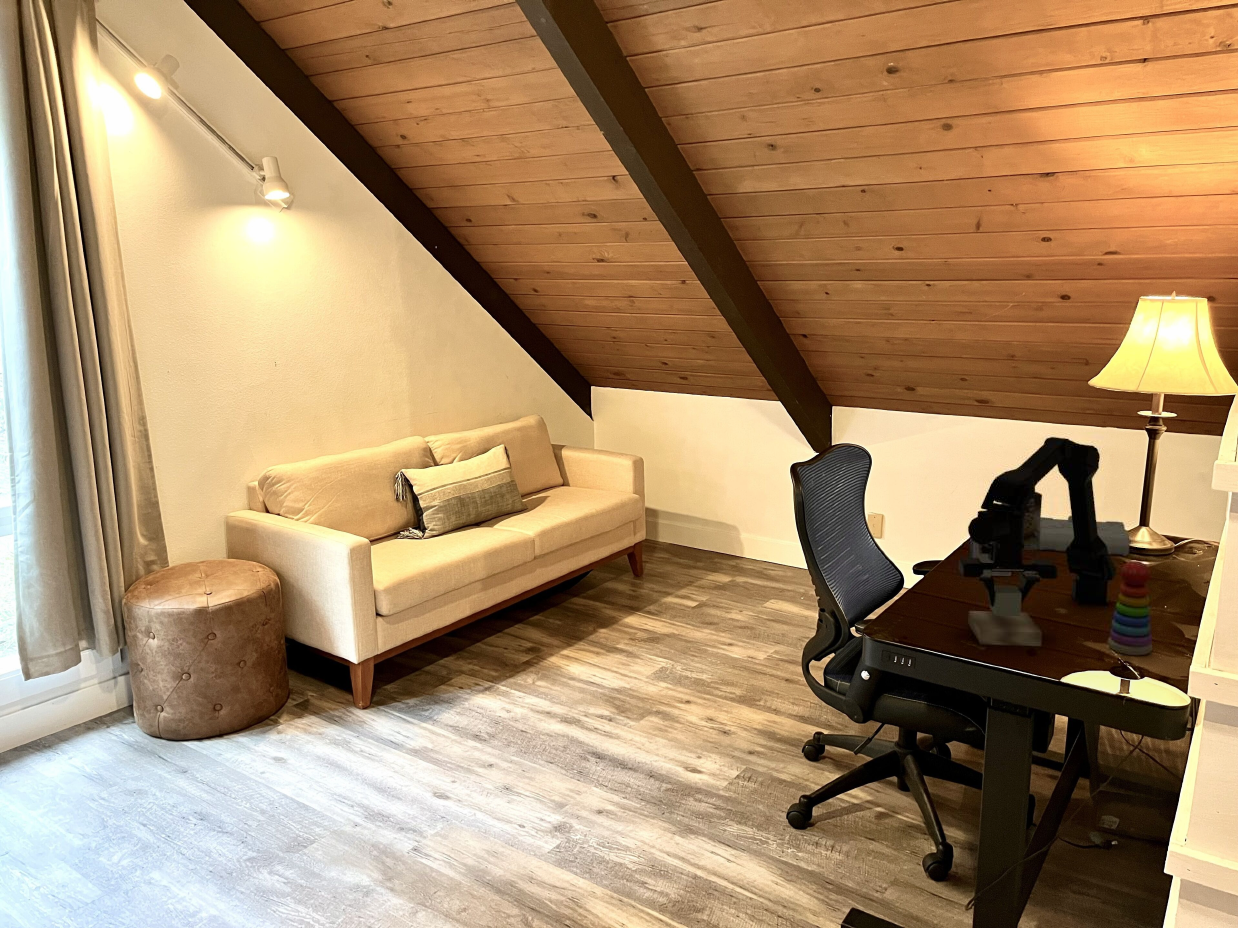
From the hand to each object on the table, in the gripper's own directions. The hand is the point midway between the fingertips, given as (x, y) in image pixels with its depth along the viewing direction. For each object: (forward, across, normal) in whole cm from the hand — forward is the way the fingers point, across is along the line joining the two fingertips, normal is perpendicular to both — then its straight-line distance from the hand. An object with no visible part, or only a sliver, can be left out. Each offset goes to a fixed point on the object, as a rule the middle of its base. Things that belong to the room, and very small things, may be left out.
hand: (1005, 606), depth 195 cm
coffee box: (+7, -20, -69) cm, 72 cm away
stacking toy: (+7, -23, +6) cm, 25 cm away
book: (+7, -40, -72) cm, 82 cm away
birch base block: (+6, 0, 0) cm, 6 cm away
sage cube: (+1, 0, 0) cm, 1 cm away
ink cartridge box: (+7, -7, -44) cm, 45 cm away
